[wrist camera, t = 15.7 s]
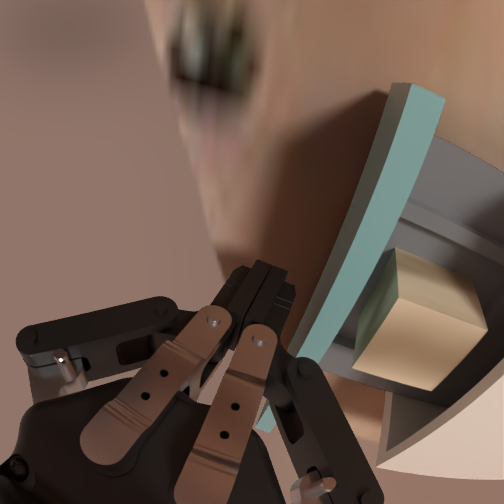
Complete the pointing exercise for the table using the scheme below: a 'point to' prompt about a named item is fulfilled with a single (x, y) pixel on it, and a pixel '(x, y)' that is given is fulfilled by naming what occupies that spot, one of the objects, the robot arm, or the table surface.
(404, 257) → the beech block
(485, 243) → the tray
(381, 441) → the box
